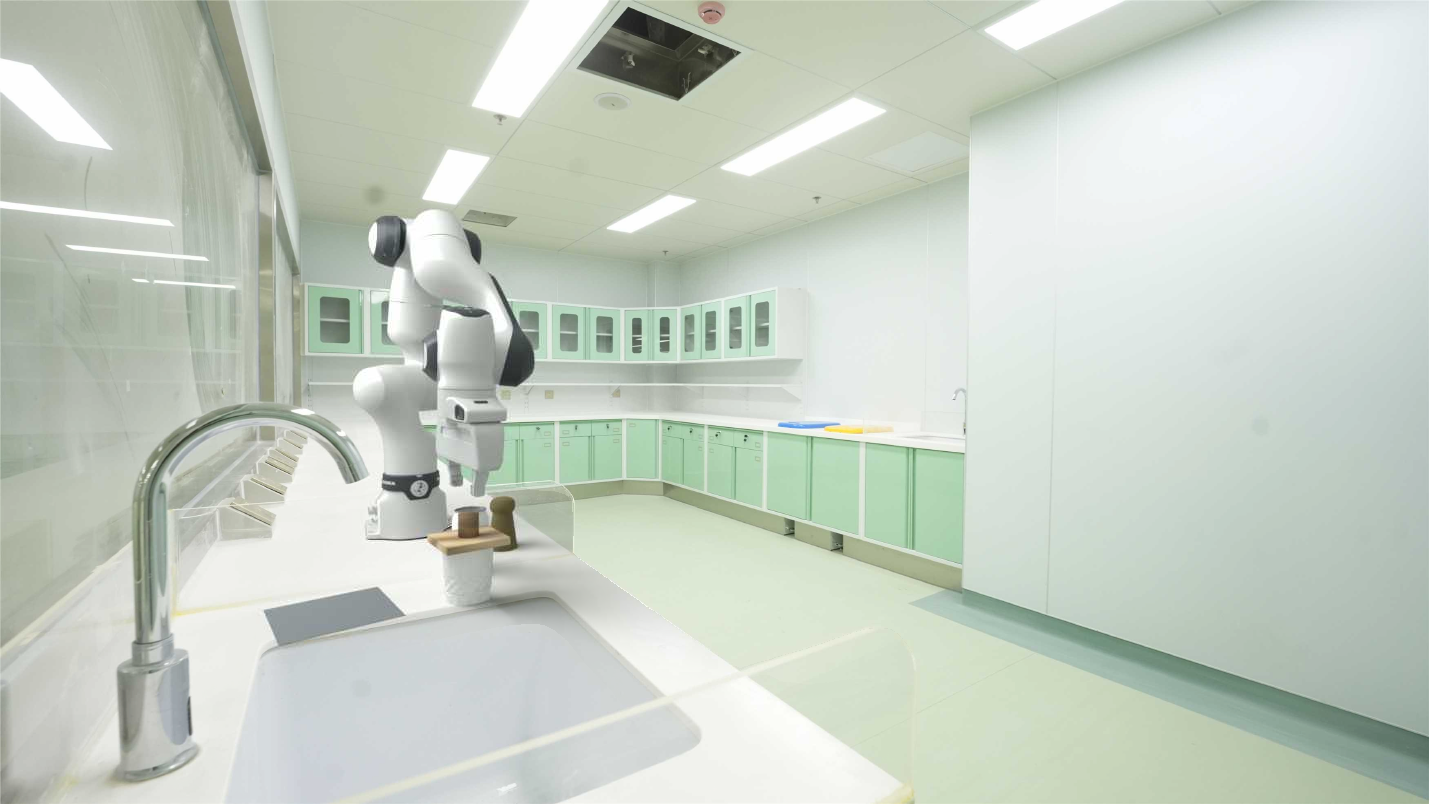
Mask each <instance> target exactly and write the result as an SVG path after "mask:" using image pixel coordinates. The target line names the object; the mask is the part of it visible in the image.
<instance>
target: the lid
mask: <svg viewBox="0 0 1429 804" xmlns="http://www.w3.org/2000/svg"><path fill="white" fill-rule="evenodd" d="M426 542H427V543H429V544H430V545H432V546H433V547H435V548H436V549H437V550H438V551H440V552H441V553H442V554H443V553H444V554H445V555H447V556H450V555H455V554H461V553H466V552H472V551H477V550H483V549H488V548H494V547H499V546H505V545H510V537H509V536H507V535H505V534H503V533H501V532H500V531H498V530H496V529H494V528H492V527H491V525H489V526H488V525H483V526H479V513H477V512H464V513H460V514H458V530H452V529H451V530H447V531H445V530H444V531H442V532H439V533H432V534H427V536H426Z"/></svg>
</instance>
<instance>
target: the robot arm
mask: <svg viewBox="0 0 1429 804" xmlns="http://www.w3.org/2000/svg"><path fill="white" fill-rule="evenodd" d="M368 246H369V250H370V251H371V256H372V257H373V259H374V260H375V261H376V263H378V264H380V265H383V266H387V267H389V268H394V267H395V268H394V271H393V274H392V278H391V282H390V283H391V285H390V288H389V289H390V290H389V292H390V293H389V301H388V310H387V311H388V313H387V327H386V328H387V329H386V330H387V331H386V332H387V333H386V334H387V336H388V338H389V340H391V342H392V343H394V344H395V345H397V346H398V347H399V349H401V353H402V356H403V360H404V361H403V362H404V364H396V363H395V364H393V363H391V364H387V363H386V364H385V363H384V364H379V365H375V366H371V367H370V366H369V367H367V368H362V370H360V371H359V372H358V373H357V375H356V376H355V378H354V380H353V384H352V395H353V398H354V400H355V403H356V404H357V405H358V406H359V408H361V409H362V410H363V411H364V412H366V413H368V415H370V417H371V418H372V419H373V420H374V422H375V424H376V426H377V427H378V430H379V433H380V434H381V435H380V436H381V439H382V447H383V463H384V466H383V467H384V470H383V471H384V472H383V473H382V477H381V491H380V493H379V495H378V496H377V498H376V499H375V501H374V503H372V504H369V505H368V506H367V515H368V516H372V518H370V519H367V520H364V530H365V536H366V539H368V540H371V539H372V540H374V539H375V540H376V539H377V540H378V539H379V540H380V539H382V540H410V539H412V540H413V539H420V538H424V537H426V538H427V534H432V533H439V532H445V530H447V528H446V527H448V526H450V525H452V519H449V518H448V506H447V502H448V501H447V494H446V492H444V490H442V489H441V488H440V487H439V486H440V483H441V481H440V480H441V475H440V470H439V469H438V457H440V458H443V459H445V461H446V464H445V465H446V470H447V473H448V476H449V479H448V480H449V481H448V482H449V485H450V486H451V487H454V488H457V487H462V486H463V485H464V475H463V474H462V467H461V466H464V467H466V468H468V469H471V474H472V476H473V478H472V484H470V486H469V487H470V493H469V494H470V495H471V496H473V497H475V498H480V497H484V496H485V494H486V486H487V482H488V478H489V475H490V472H495V471H499V470H500V469H501V467H502V465H503V462H504V451H505V427H504V424H503V422H506V421H507V419H508V411H507V410H508V409H507V407H505V405H503V404H502V403H501V402H500V400H499V398H498V397H497V395H496V394H497V388H496V386H497V385H498V386H501V387H511V388H516V387H518V386H520V385H522V384H523V383H524V382H526V381H527V380H528V379H529V378H530V377H531V375H533V373H534V370H535V364H536V363H535V360H536V359H535V351H534V347H533V344H532V342H531V340H530V339H529V337H528V336H527V335H526V334H525V333H524V331H523V329H522V327H521V326H520V324H519V322H518V320H517V318H516V316H515V314H514V312H513V309H512V307H511V306H510V305H511V304H510V303H509V302H508V299H507V297H506V295H505V293H504V291H503V289H502V287H501V285H500V283H499V281H498V279H497V278H496V277H495V276H494V275H493V274H491V273H489V272H488V271H486V270H485V269H484V268H483V267H482V266H481V265H480V264H481V263H482V259H483V248H482V242H481V239H480V237H479V235H478V234H477V233H475V232H474V231H472V230H469V229H466V228H463V226H462V224H461V223H460V221H459V220H458V219H457V218H456V217H455V216H454V215H453V214H452V213H450V212H448V211H445V210H442V209H435V208H434V209H428V210H425V211H423V212H421V213H419V214H418V215H417V216H416V217H415V218H408V217H407V218H406V217H399V216H398V215H381V216H380V217H378V218H376V219H375V220H374V223H373V224H372V226H371V228H370V230H369V234H368ZM444 301H448V302H451V303H455V304H459V305H462V306H459V305H457V306H456V305H455V306H448V307H445V308H444ZM428 411H429V412H431V411H436V415H437V421H436V431H435V434H434V433H432V432H431V431H430V430H428V429H426V427H424V425H423V424H422V421H421V417H420V412H428ZM373 515H374V516H373Z"/></svg>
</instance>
